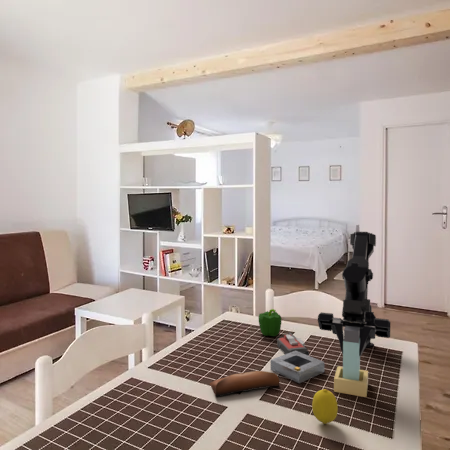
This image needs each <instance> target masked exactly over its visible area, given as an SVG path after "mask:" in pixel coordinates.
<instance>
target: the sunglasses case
mask: <svg viewBox="0 0 450 450" xmlns="http://www.w3.org/2000/svg"><path fill="white" fill-rule="evenodd" d="M280 383H281V382H280V378H279V376H278V375H277V374H276V372H275V373H274V372H273V371H272V372H271V371H265V370H264V371H263V370H261V371H260V370H257V371H255V370H254V371H248V372H239V373H234V374H229V375H227V376H225V377H221V378H218V379H215V380H213V381H211V382H209V386H210V388H211V390H212V393H213V395H214V397H222V396H227V395H229V394H231V395H232V394H233V393H235V394H236V393H239V392H244V391H251V390H255V389H264V388H269V387H280V385H281V384H280Z"/></svg>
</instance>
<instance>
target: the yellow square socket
mask: <svg viewBox="0 0 450 450" xmlns="http://www.w3.org/2000/svg"><path fill="white" fill-rule="evenodd" d="M368 386H369V370H364V369H360V377H359V381H357V380H351V379H345V378H343V366H338V365H337V368H336V371H335V374H334V378H333V392H335V393H339V394H346V395H352V396H356V397H362V398H363V397H364V398H367V394H368Z"/></svg>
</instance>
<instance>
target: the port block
mask: <svg viewBox="0 0 450 450" xmlns="http://www.w3.org/2000/svg"><path fill="white" fill-rule="evenodd" d="M270 371H272V372H273V373H274V372H275V374H276V373H277V374H279V375H281V376H283V377H285V378H287V379H289V380H292V382H293V381H294V382H295V383H298V384H301V383H303V382H305V381H307V380H310V379H313V378H314V377H317V376H318V375H320V374H321V375H322V374H323V373H325V361H323V360H321V359H318V358H315V357H313V356H310V355H309V356H308V355H306V354H303V353H300V352H298V351H293V352H290V353H288V354H285V353H284V354H283V355H279V356H277V357H274V358H272V359H270Z"/></svg>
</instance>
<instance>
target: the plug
mask: <svg viewBox="0 0 450 450" xmlns="http://www.w3.org/2000/svg"><path fill="white" fill-rule="evenodd" d="M343 334H344V340H343V354H342V367H343V378H345V379H351V380H357V381H359V377H360V370H361V356H359V348H360V338H359V335H360V327H351V326H345V327H344V328H343Z"/></svg>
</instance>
